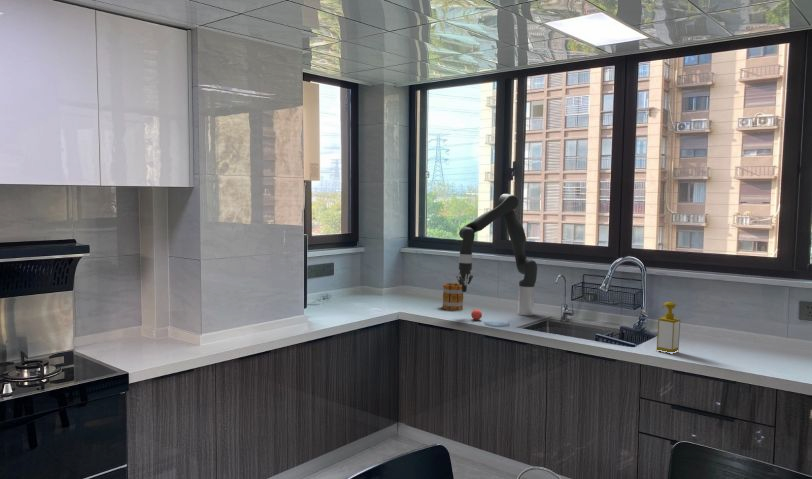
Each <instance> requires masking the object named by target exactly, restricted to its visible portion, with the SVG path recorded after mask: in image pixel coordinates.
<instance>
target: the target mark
mask: <svg viewBox="0 0 812 479" xmlns="http://www.w3.org/2000/svg"><path fill="white" fill-rule="evenodd" d="M483 324H484V325H485V326H489V327H498V328H503V327H505V328H506V327H509V326H510V323H509V322H504V321H499V320H496V321H495V320H488V321H484V322H483Z"/></svg>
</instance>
